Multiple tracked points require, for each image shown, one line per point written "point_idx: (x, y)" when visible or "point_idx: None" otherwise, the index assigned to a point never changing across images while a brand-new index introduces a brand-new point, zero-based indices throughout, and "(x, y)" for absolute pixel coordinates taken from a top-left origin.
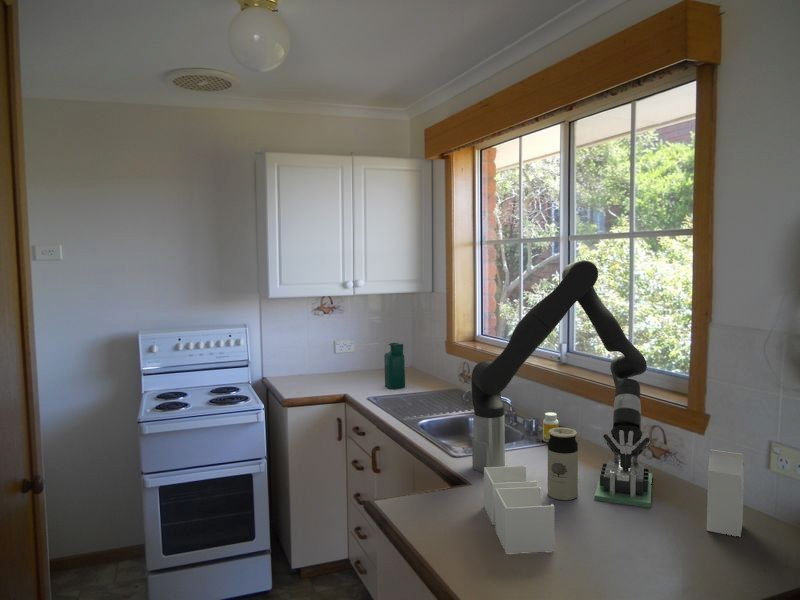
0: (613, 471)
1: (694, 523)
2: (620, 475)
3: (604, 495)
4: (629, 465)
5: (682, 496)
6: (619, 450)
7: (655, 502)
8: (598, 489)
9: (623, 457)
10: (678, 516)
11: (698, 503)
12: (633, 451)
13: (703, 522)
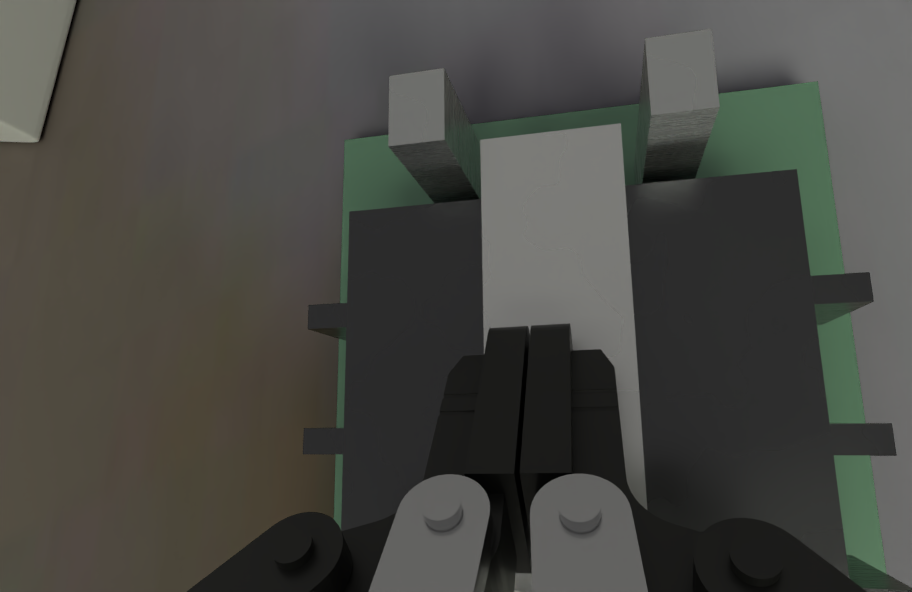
0: (672, 93)
1: (127, 51)
2: (582, 170)
3: (724, 126)
4: (471, 358)
5: (137, 467)
6: (661, 582)
7: (324, 268)
8: (813, 243)
9: (559, 420)
10: (199, 103)
11: (59, 372)
12: (354, 575)
13: (81, 88)
